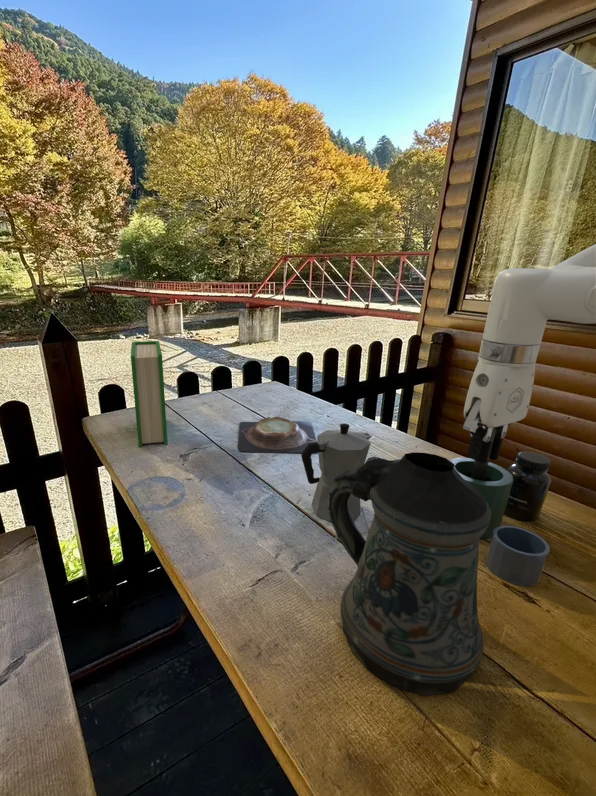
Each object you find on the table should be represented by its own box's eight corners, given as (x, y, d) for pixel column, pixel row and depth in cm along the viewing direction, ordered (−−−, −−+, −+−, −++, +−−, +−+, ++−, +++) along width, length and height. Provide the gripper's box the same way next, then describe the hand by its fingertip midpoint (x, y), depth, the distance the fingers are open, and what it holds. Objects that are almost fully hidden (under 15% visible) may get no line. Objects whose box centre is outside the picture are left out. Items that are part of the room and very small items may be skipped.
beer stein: (497, 718, 43) (565, 521, 34) (311, 672, 48) (328, 489, 39) (459, 600, 58) (500, 441, 49) (320, 574, 63) (334, 425, 54)
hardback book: (167, 444, 107) (162, 354, 98) (138, 447, 106) (130, 356, 97) (163, 420, 123) (158, 340, 115) (138, 422, 122) (131, 341, 113)
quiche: (310, 422, 121) (311, 410, 119) (321, 454, 102) (322, 439, 100) (239, 421, 122) (239, 409, 120) (237, 452, 103) (237, 437, 101)
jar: (482, 510, 79) (495, 459, 75) (508, 543, 70) (525, 487, 66) (428, 506, 80) (438, 456, 76) (446, 539, 71) (459, 483, 67)
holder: (523, 558, 66) (532, 527, 64) (548, 590, 60) (560, 557, 58) (477, 554, 67) (485, 523, 65) (497, 586, 61) (507, 553, 59)
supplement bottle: (503, 521, 76) (519, 463, 71) (490, 501, 82) (504, 447, 77) (545, 526, 74) (565, 468, 70) (529, 505, 80) (546, 450, 76)
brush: (466, 500, 77) (485, 421, 71) (489, 513, 73) (511, 430, 67) (450, 506, 75) (468, 426, 69) (472, 519, 71) (493, 435, 65)
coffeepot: (346, 490, 86) (355, 409, 79) (379, 513, 78) (392, 427, 71) (283, 508, 80) (288, 423, 73) (313, 536, 72) (321, 443, 65)
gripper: (499, 363, 57) (472, 478, 64) (564, 352, 64) (533, 457, 70) (451, 352, 64) (430, 458, 70) (514, 343, 70) (490, 441, 76)
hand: (482, 457), depth 70 cm, fingers closed on brush, 2 cm apart
